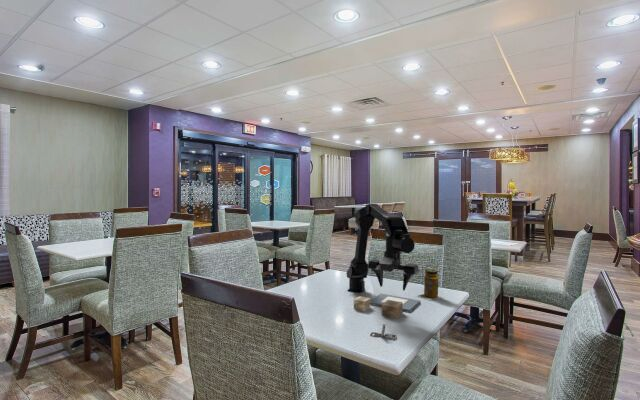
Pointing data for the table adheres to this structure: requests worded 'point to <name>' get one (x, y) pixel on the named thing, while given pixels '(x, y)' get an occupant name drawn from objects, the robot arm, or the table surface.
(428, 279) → the condiment
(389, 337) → the strap clip
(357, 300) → the birch cube
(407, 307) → the board
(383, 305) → the walnut block
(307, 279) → the table surface
